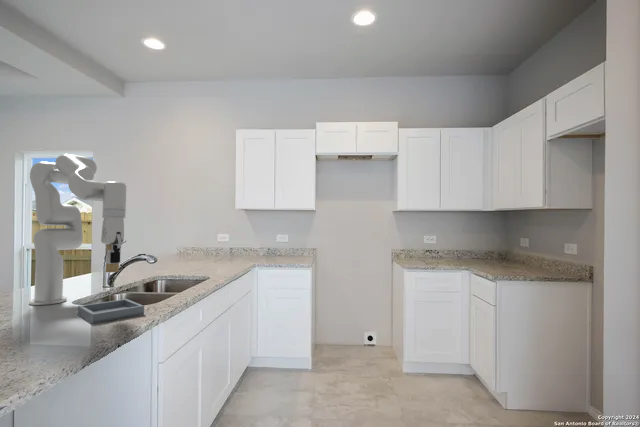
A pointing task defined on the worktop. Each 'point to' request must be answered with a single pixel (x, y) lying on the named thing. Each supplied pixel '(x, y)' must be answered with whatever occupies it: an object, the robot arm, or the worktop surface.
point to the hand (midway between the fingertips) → (112, 261)
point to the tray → (110, 310)
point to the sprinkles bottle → (109, 266)
